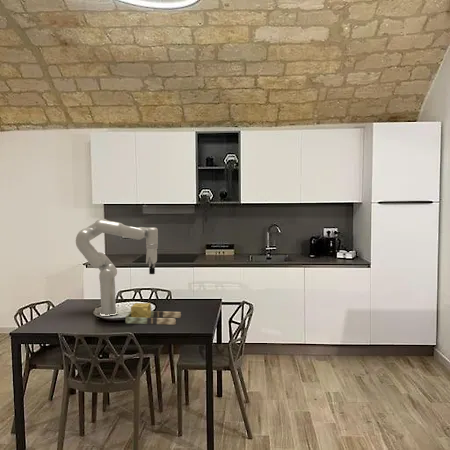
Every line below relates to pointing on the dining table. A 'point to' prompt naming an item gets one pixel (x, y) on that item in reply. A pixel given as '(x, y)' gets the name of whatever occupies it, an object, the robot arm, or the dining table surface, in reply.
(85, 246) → the robot arm
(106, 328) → the dining table surface
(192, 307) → the dining table surface
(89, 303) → the dining table surface
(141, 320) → the track
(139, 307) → the cheese
